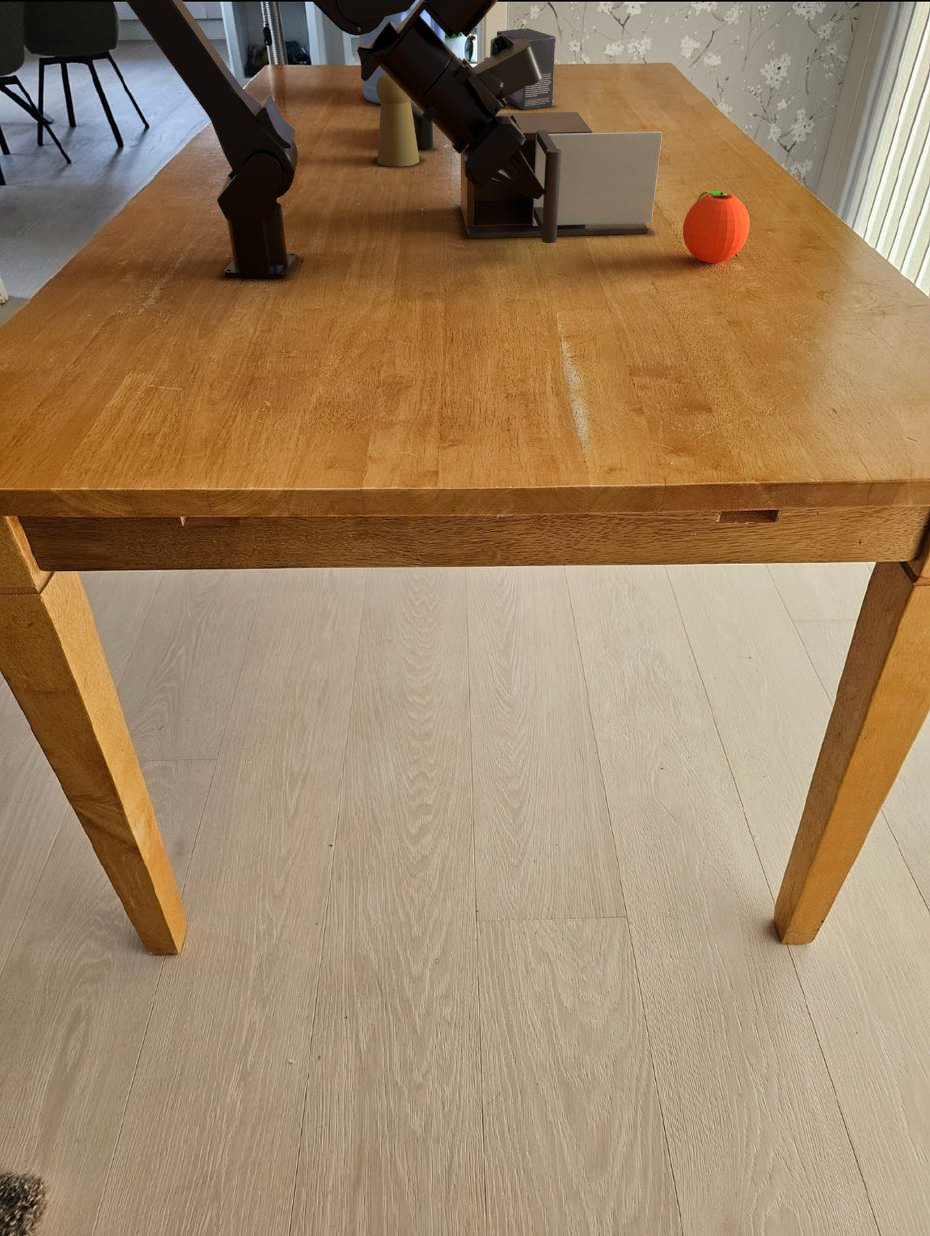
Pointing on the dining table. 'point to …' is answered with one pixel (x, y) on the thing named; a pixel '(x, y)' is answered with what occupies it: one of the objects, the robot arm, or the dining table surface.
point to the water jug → (368, 38)
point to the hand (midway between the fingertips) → (541, 195)
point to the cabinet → (512, 211)
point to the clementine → (716, 227)
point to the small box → (544, 55)
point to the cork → (395, 126)
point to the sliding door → (595, 179)
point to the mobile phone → (422, 128)
